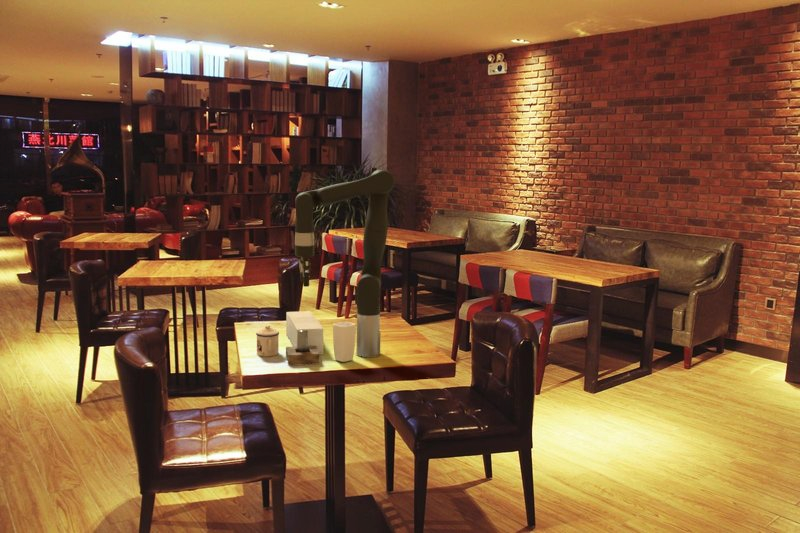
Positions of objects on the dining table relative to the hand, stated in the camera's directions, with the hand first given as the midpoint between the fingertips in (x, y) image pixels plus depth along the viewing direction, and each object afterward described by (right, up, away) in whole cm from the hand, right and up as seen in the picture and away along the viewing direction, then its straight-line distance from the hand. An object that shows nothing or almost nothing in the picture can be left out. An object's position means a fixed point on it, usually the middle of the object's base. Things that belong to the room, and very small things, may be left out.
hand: (304, 284), depth 277 cm
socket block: (-1, -30, 0) cm, 30 cm away
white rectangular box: (-4, -26, +23) cm, 35 cm away
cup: (+15, -30, +1) cm, 34 cm away
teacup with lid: (-16, -29, +6) cm, 33 cm away
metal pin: (-1, -30, 0) cm, 30 cm away
